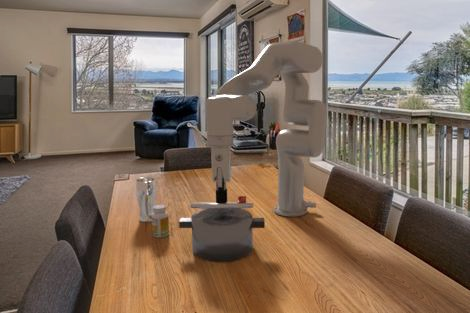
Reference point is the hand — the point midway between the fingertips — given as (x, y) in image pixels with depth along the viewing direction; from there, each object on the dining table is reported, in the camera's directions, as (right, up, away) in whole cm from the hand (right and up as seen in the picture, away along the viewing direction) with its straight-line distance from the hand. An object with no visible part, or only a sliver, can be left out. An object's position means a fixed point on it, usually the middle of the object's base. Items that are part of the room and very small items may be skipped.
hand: (221, 202), depth 109 cm
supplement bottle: (-20, -12, +13) cm, 27 cm away
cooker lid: (0, -1, +1) cm, 2 cm away
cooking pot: (0, -14, +3) cm, 14 cm away
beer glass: (-28, -10, +27) cm, 40 cm away
